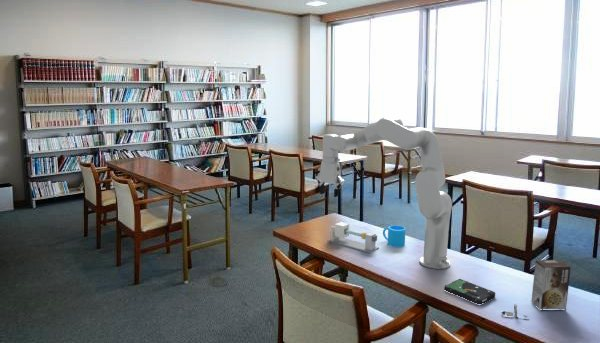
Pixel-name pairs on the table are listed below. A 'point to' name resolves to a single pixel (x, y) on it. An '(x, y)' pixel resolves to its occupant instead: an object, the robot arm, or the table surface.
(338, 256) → the table surface
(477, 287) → the disk drive
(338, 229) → the sleeve
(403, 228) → the mug
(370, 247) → the cord rig
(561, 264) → the coffee box
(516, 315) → the strap clip
